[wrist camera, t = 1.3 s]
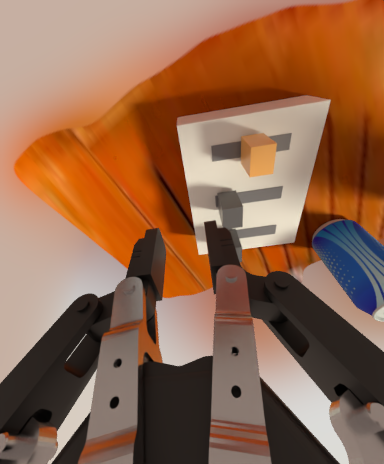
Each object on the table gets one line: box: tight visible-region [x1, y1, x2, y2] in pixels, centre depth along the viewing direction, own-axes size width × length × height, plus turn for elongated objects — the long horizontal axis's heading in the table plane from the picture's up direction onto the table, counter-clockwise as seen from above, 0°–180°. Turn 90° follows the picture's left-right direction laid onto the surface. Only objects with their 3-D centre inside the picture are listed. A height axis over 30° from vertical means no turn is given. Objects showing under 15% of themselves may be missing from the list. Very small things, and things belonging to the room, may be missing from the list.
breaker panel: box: [177, 95, 331, 255], centre depth 29 cm, size 16×20×5 cm
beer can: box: [312, 219, 384, 322], centre depth 32 cm, size 8×8×16 cm
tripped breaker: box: [241, 133, 277, 177], centre depth 21 cm, size 2×3×4 cm
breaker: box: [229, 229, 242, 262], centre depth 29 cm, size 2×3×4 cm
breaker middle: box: [217, 190, 243, 229], centre depth 25 cm, size 2×3×4 cm
